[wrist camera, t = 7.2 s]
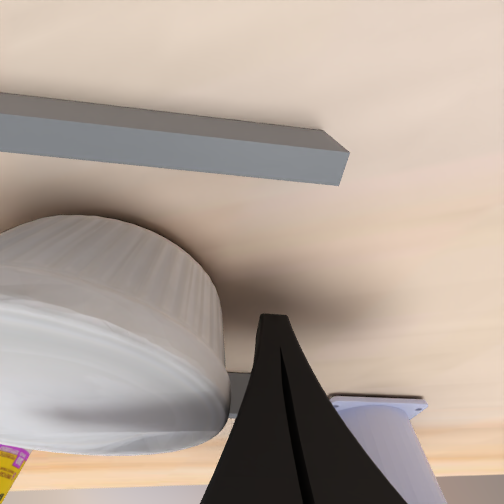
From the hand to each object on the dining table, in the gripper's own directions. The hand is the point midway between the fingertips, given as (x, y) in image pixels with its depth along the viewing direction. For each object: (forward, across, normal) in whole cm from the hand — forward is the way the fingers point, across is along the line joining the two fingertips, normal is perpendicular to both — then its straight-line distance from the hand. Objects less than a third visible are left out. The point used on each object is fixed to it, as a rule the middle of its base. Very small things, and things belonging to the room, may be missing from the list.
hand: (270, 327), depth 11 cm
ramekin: (+2, +7, 0) cm, 7 cm away
